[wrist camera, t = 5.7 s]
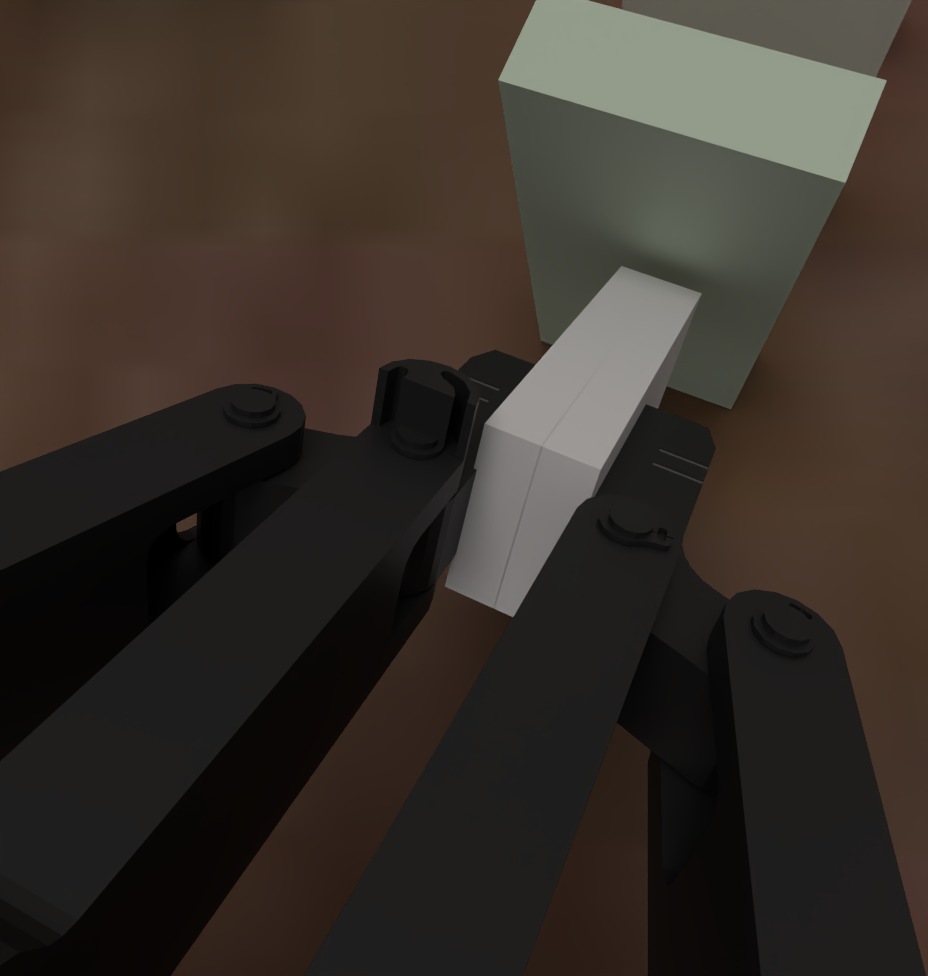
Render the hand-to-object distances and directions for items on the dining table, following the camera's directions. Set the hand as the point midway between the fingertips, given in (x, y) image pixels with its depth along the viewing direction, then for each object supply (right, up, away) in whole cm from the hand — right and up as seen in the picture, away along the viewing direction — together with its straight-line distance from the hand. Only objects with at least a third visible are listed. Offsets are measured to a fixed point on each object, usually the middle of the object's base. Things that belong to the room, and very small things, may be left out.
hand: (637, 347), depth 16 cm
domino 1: (+1, +1, +6) cm, 6 cm away
